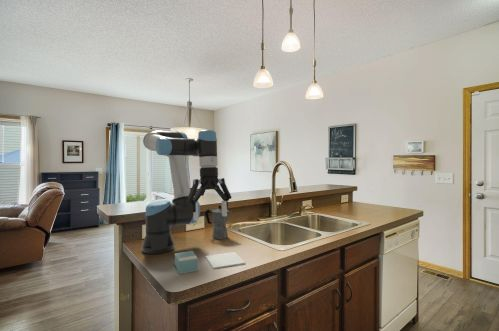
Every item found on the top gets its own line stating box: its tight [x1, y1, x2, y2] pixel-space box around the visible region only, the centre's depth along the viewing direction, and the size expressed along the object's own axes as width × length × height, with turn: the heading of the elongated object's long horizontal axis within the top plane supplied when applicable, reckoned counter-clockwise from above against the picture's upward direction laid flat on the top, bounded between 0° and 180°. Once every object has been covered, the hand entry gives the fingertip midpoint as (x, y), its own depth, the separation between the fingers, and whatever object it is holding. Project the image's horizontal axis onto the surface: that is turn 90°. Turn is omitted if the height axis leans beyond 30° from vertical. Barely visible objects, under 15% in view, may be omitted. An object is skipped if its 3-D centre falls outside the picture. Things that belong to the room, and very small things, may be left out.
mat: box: [205, 251, 246, 270], centre depth 117 cm, size 14×14×1 cm
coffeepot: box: [204, 205, 232, 240], centre depth 153 cm, size 15×9×18 cm, turn 82°
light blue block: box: [174, 250, 199, 275], centre depth 109 cm, size 10×8×5 cm
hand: (210, 218), depth 111 cm, fingers open, 13 cm apart
